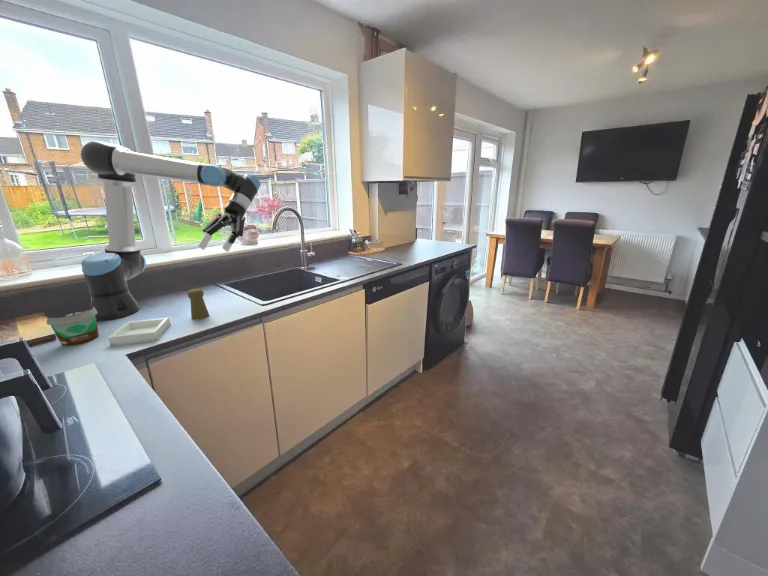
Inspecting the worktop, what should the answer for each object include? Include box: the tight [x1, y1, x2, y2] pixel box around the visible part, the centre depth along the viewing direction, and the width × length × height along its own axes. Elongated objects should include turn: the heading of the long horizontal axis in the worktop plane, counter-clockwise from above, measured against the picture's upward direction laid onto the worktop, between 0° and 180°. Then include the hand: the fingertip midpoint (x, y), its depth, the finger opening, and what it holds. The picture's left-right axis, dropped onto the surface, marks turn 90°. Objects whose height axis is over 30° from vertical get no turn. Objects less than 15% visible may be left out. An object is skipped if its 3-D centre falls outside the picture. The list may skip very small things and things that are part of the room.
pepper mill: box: [187, 288, 210, 321], centre depth 123 cm, size 6×6×11 cm
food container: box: [46, 307, 100, 347], centre depth 104 cm, size 12×6×10 cm, turn 148°
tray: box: [107, 317, 172, 347], centre depth 109 cm, size 13×13×3 cm
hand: (212, 248), depth 126 cm, fingers open, 13 cm apart
